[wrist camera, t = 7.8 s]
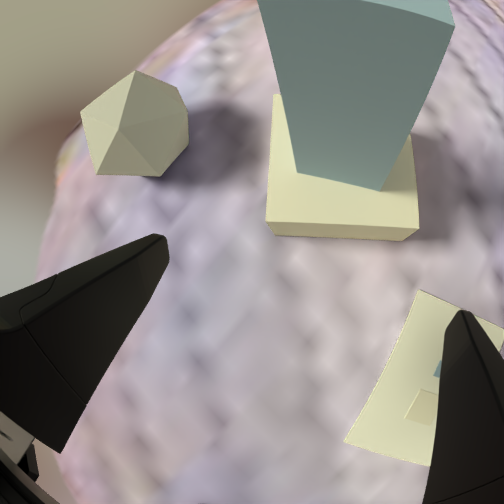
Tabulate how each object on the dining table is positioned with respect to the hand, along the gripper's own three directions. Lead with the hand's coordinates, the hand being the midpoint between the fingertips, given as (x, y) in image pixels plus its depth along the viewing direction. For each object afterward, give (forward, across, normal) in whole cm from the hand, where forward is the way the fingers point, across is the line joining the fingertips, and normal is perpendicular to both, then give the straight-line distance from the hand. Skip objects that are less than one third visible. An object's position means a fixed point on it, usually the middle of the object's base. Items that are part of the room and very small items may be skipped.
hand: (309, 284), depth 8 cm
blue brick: (+12, 0, 0) cm, 12 cm away
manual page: (+6, -11, +12) cm, 17 cm away
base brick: (+15, 0, +3) cm, 15 cm away
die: (+15, +15, +3) cm, 22 cm away
